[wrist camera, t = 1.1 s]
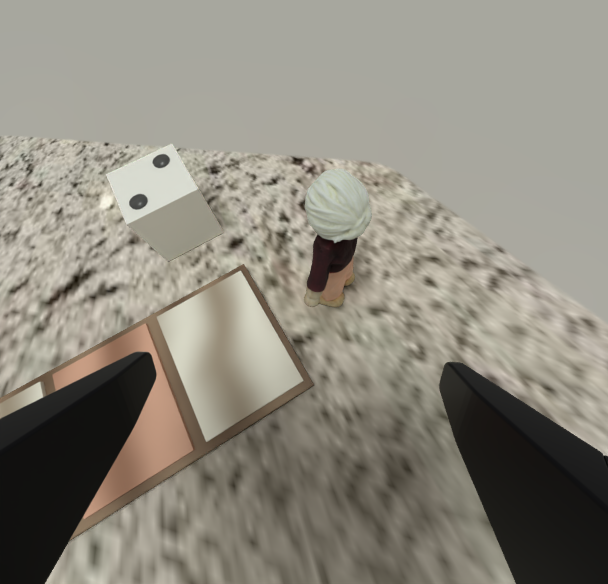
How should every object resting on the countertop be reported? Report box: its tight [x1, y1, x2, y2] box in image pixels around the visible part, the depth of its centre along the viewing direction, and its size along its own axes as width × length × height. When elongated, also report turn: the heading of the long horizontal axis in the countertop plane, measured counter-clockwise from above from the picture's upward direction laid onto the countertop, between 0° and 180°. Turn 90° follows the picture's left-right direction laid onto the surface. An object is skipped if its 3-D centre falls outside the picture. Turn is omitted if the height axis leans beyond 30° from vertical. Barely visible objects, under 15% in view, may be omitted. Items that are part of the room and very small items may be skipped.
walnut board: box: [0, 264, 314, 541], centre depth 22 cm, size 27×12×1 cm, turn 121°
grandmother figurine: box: [304, 169, 372, 307], centre depth 19 cm, size 8×4×13 cm, turn 161°
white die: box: [106, 144, 224, 262], centre depth 25 cm, size 6×6×6 cm
